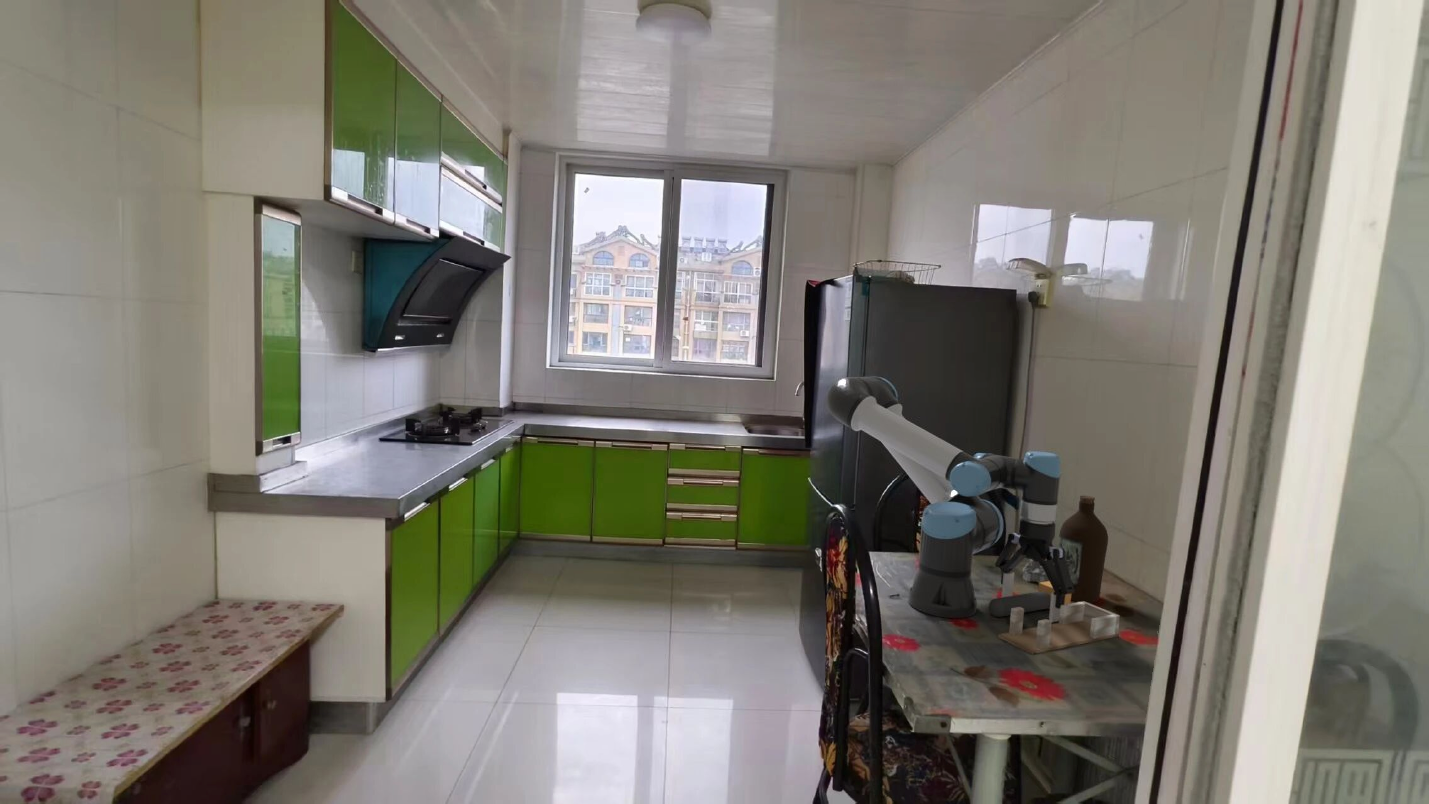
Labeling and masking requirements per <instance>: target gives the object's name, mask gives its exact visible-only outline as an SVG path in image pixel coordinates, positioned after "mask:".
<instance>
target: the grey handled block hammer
mask: <svg viewBox="0 0 1429 804" xmlns="http://www.w3.org/2000/svg"><path fill="white" fill-rule="evenodd" d="M1053 592H1055V591H1054V589H1053V587H1052V585H1051V583H1050V581H1047V582H1041V583H1038V590H1037V591H1035V592H1029V593H1022V594H1015V595H1012V596H1009V597H1002V596H1001V597H997V598H994V599H991V600H990V601H989V602H988V610H989V612H990V614H991V615H992V616H994V617H996V618H1000V617H1001V618H1002V617H1007V616H1011V608H1016V607H1021V608H1023V609H1024V614H1025V613H1029V612H1030V613H1031V612H1035V611H1036V612H1037V611H1040V610H1042V611H1043V610H1047V609H1048V610H1050V603H1051V593H1053ZM1071 601H1072V600H1071V594H1066V595H1065V603H1064V605H1066V604H1071Z"/></svg>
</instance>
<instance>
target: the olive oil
mask: <svg viewBox="0 0 1429 804" xmlns="http://www.w3.org/2000/svg"><path fill="white" fill-rule="evenodd" d="M1079 499H1080V500H1079V501H1078V510H1077V511H1076V512H1075V513H1073V514H1072V515H1071V516H1070V517H1068V518H1067V519H1066V520H1065V521H1064V522H1063V523H1062V525H1061V527H1060V530H1059V534H1058V539H1059V541H1058V542H1059V543H1058V548H1064V549H1065V560H1066V563H1067V567H1068V570H1069V574H1070V577H1071V580H1072V584H1073V587H1074V593H1071V601H1074V602H1076V603H1077V602H1083V601H1085V602H1087V603H1090V604H1093V603H1098V601H1099V600H1100V598H1101V597H1100V596H1101V589H1102V581H1103V577H1104V576H1103V575H1104V568H1105V563H1106V562H1105V561H1106V557H1107V556H1106V555H1107V550H1108V549H1107V548H1108V544H1109V534H1108V531H1107V528H1106V526H1105V525H1104V524H1103V523H1102V521H1101V520H1100V519H1099V518H1098V516H1097V515H1096V514H1095V513H1094V512H1095V511H1094V510H1095V506H1096V505H1095V497H1094V496H1091V495H1080V496H1079Z"/></svg>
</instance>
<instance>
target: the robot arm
mask: <svg viewBox="0 0 1429 804" xmlns="http://www.w3.org/2000/svg"><path fill="white" fill-rule="evenodd" d="M898 396H899V395H898V392H897V390H896V387H895V386H894V385H893V383H891V382H890V381H889V380H887V379H886V378H883V377H879V376H875V375H866V376H856V377H855V376H848V377H847V376H846V377H843V378H840V379H838V380H836V381H835V382H834V383H832V385H831V386H830V387H829V389H828V391H827V394H826V406H827V409H828V412H829V413H830V414H831V416H833V418H834V419H835V420H837V421H838V422H839V423H841V424H842V425H844V426H845V427H848V428H849V429H851V430H853V431H854V432H859V431H863V432H864V433H866V434H868V435H869V436H871V437H872V438H875V439H877V440H878V441H879V442H881V443H882V444H883V446H884V447H885V448H886V449H887V451H888V452H889V454H891V456H892V457H893V458H894V460H896V462H897V463H898V465H900V467H901V468H902V469H903V470H904V471H905V473H906V474H907V475H908V477H909V479H910V480H911V481H912V482H913V483H914V485H915V486H916V487H917V488H918V489H919V491H920V492H921V493H922V494H923V496H924V497H925V498H926V499H927V501H929V503H930V504H929V505H927V506H926V507H925V508H924V509H923V513H922V518H921V521H920V527H921V529H920V544H919V556H918V557H919V558H918V569H917V573H916V575H915V577H914V580H913V583H912V586H911V587H910V589H909V591H908V599H907V600H908V604H909V605H910V606H911V607H912V606H913V609H915V608H916V610H917V609H918V610H917V611H919V612H921V611H922V613H925V614H928V615H931V616H935V617H939V618H940V617H941V618H947V619H965V618H969V617H972V616H974V615H975V614H976V613H977V608H978V607H977V606H978V600H977V597H976V596H975V589H974V584H973V580H972V570H973V569H972V567H973V555H975V554H977V553H979V552H981V551H984V550H987V549H990V548H991V547H992V546H993V545H994V544H995V543H997V542H998V540H999V539H1000V538H1001V537H1002V535H1003V531H1004V519H1003V515H1002V513H1001V511H1000V510H999V508H998V507H997V506H996V505H995V504H994V503H992V502H991V501H989V500H986V499H982V498H980V496H981V495H983V494H985V493H988V492H990V491H993V490H997V489H1005V490H1006V489H1007V490H1013V491H1016V492H1021V503H1020V512H1019V516H1020V517H1021V518H1020V519H1019V522H1018V523H1019V524H1018V525H1019V527H1018V532H1013V533H1011V532H1010V533H1008V535H1007V542H1006V543H1005V545H1004V547H1003V548H1002V550H1001V552H1000V554H999V555H998V557H997V559H996V560H995V563H994V566H995V568H998V569H1000V571H1001V576H1000V577H1001V578H1000V585H1002V588H1001V598H1002V597H1009V596H1014V595H1013V594H1014V580H1015V572H1014V569H1016V568H1017V566H1018V565H1019V564H1020V563H1021V562H1023V560H1024V559H1028V560H1029V559H1032V560H1033V561H1036V562H1039V564H1040V565H1041V566H1042V567H1043V569H1044V571H1045V573H1046V575H1047V577H1048V579H1049V581H1050V583H1051V585H1052V587H1053V589H1054V591H1055V592H1053V593H1051V603H1050V609H1049V616H1048V620H1049V621H1051V623H1055V622H1056V623H1057V622H1059V618H1060V608H1061V605H1064V603H1065V595H1066V594H1071V593H1074V587H1073V584H1072V580H1071V577H1070V574H1069V570H1068V567H1067V563H1066V560H1065V549H1064V548H1059V547H1054V546H1053V541H1054V538H1055V536H1056V523H1055V521H1057V511H1058V502H1059V501H1058V499H1059V498H1058V497H1059V491H1060V483H1061V482H1060V481H1061V480H1060V479H1061V475H1062V474H1061V457H1060V456H1059V455H1057V454H1056V453H1053V452H1047V451H1039V450H1038V451H1037V450H1035V451H1034V450H1033V451H1027V452H1026V453H1025V454H1024V455H1025V456H1024V458H1020V457H1019V458H1018V457H1012V456H1011V457H1010V456H1006V455H1005V456H1004V455H999V454H994V453H990V452H989V453H982V452H977V453H976V454H974V455H973V456H972V455H970V454H968V453H967V452H965V451H964V450H961V449H960V448H958V447H956V446H954V445H952V444H951V443H950V442H947V441H946V440H944V439H942V438H939V437H938V436H936V435H934V434H933V433H931V432H929V431H927V430H926V429H923V428H922V427H920V426H918V425H916V424H915V423H912V422H911V421H909V420H907V419H906V418H905V417H904V416H903V414H902V413H903V405H902V404H901V402H899V400H898ZM1018 545H1019V548H1018V549H1017V551H1016V548H1017V547H1018ZM1014 552H1015V554H1014ZM1013 554H1014V555H1013Z"/></svg>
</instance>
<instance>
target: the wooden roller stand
mask: <svg viewBox="0 0 1429 804" xmlns="http://www.w3.org/2000/svg"><path fill="white" fill-rule="evenodd" d="M1024 614H1025V613H1024V609H1023V608H1021V607H1016V608H1011V615H1010V618H1009V629H1008V632H1003V633H998V635H997V638H998V639H1000V640H1002V641H1004V640H1005V642H1006V641H1007V643H1009V644H1010V643H1011V644H1010V645H1012V646H1014V647H1016V648H1018V649H1020V648H1021V650H1022V651H1024V650H1025V653H1028V654H1030V655H1035V654H1034V653H1036V654H1039V653H1040V654H1041V653H1044V652H1050V651H1054V650H1061V649H1065V648H1069V647H1073V646H1074V647H1075V646H1078V645H1083V644H1087V643H1093V642H1099V641H1103V640H1107V639H1112V638H1115V637H1116V638H1117V637H1119V634H1120V633H1119V628H1120V627H1119V626H1120V615H1119V614H1117V613H1114V612H1112V611H1110V610H1107V609H1104V608H1101V607H1099V606H1097V605H1094V604H1093V603H1087V602H1085V601H1083V602H1077V601H1076V602H1072V603H1070V604H1066V605H1061V608H1060V618H1059V621H1058V622H1056V623H1052V622H1051V621H1049V619H1040V620H1038V621H1037V626H1035V627H1030V628H1025V629H1023V626H1024V625H1023V624H1024Z"/></svg>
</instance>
